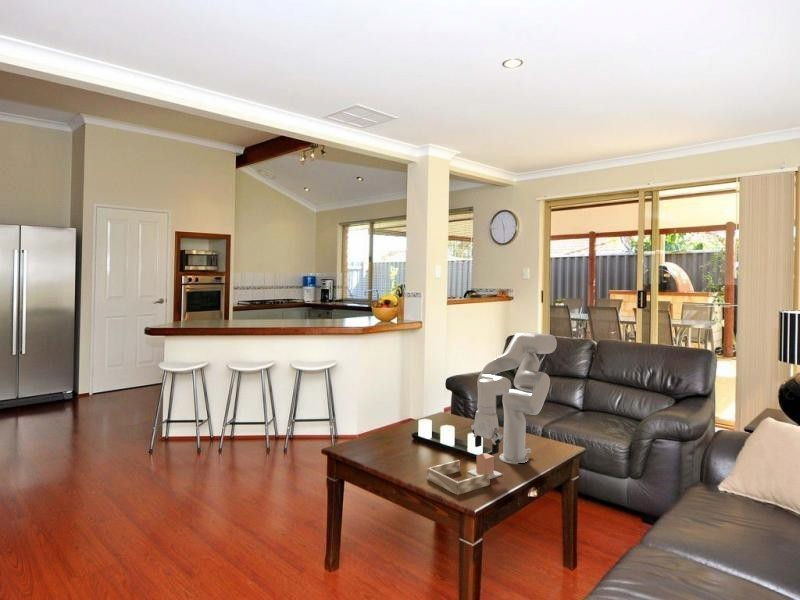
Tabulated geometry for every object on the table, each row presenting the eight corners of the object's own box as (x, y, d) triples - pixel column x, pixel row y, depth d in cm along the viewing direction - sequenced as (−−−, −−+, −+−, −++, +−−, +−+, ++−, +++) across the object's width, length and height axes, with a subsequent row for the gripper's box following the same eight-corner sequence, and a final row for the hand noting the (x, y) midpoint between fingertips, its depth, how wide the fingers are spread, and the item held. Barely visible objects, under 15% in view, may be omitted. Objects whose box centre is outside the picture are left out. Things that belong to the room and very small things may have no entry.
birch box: (458, 470, 218) (458, 459, 218) (489, 484, 204) (489, 473, 203) (426, 479, 208) (427, 468, 208) (457, 495, 194) (457, 483, 193)
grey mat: (484, 467, 222) (484, 466, 222) (502, 475, 214) (502, 473, 214) (467, 472, 216) (467, 471, 216) (484, 480, 208) (484, 479, 208)
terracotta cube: (484, 469, 218) (485, 452, 218) (493, 473, 214) (494, 456, 214) (476, 471, 215) (476, 455, 215) (485, 475, 211) (485, 458, 211)
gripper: (465, 406, 218) (465, 445, 220) (496, 416, 204) (495, 458, 206) (478, 403, 223) (478, 441, 224) (509, 412, 209) (508, 453, 210)
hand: (486, 449), depth 215 cm, fingers open, 9 cm apart
